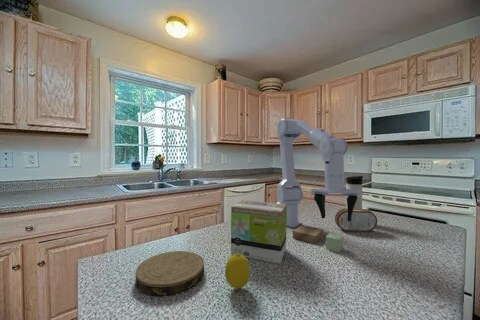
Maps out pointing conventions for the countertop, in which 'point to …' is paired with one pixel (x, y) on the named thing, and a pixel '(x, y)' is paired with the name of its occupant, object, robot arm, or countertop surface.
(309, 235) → the walnut block
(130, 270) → the countertop surface
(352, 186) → the travel mug
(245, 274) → the lemon
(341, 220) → the tin
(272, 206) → the tea box
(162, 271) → the wooden coaster disc
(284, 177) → the robot arm
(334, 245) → the sage cube
